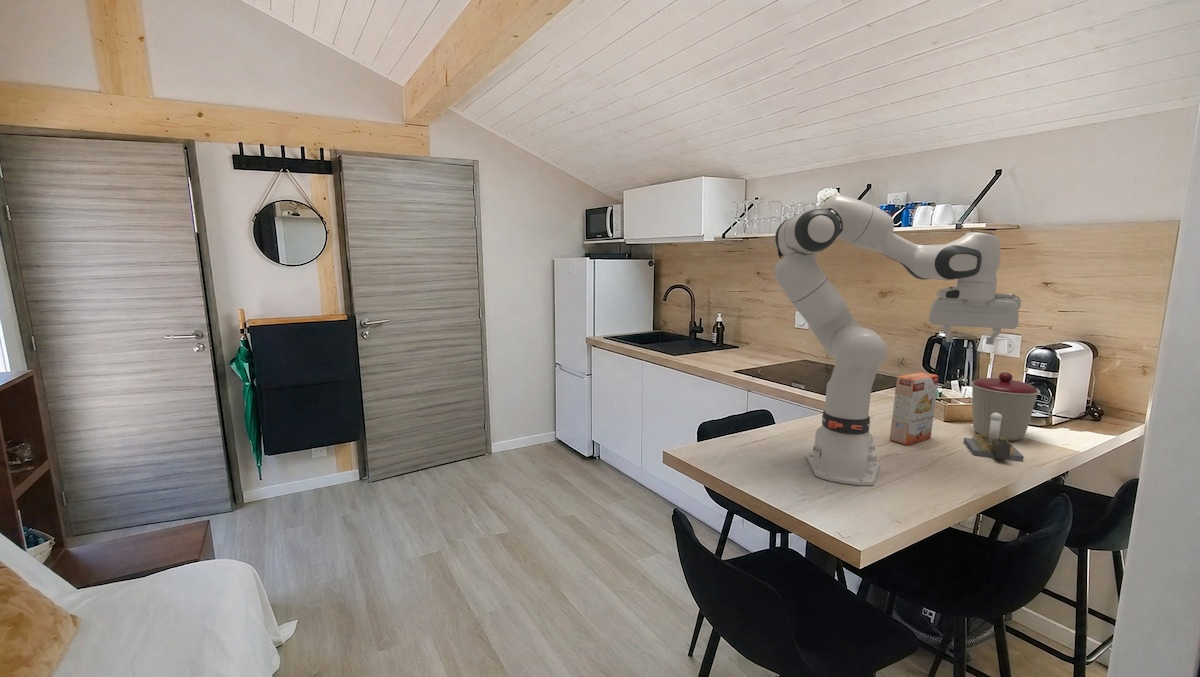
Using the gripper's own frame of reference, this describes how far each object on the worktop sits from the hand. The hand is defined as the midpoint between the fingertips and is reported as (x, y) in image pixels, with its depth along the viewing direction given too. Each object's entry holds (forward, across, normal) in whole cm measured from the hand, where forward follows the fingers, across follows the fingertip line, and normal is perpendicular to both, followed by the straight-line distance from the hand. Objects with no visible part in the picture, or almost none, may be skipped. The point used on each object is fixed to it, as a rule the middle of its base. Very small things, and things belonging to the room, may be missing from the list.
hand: (969, 343), depth 148 cm
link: (+33, -12, -10) cm, 36 cm away
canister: (+34, -18, -31) cm, 50 cm away
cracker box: (+34, +9, -15) cm, 39 cm away
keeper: (+34, -12, -13) cm, 38 cm away
